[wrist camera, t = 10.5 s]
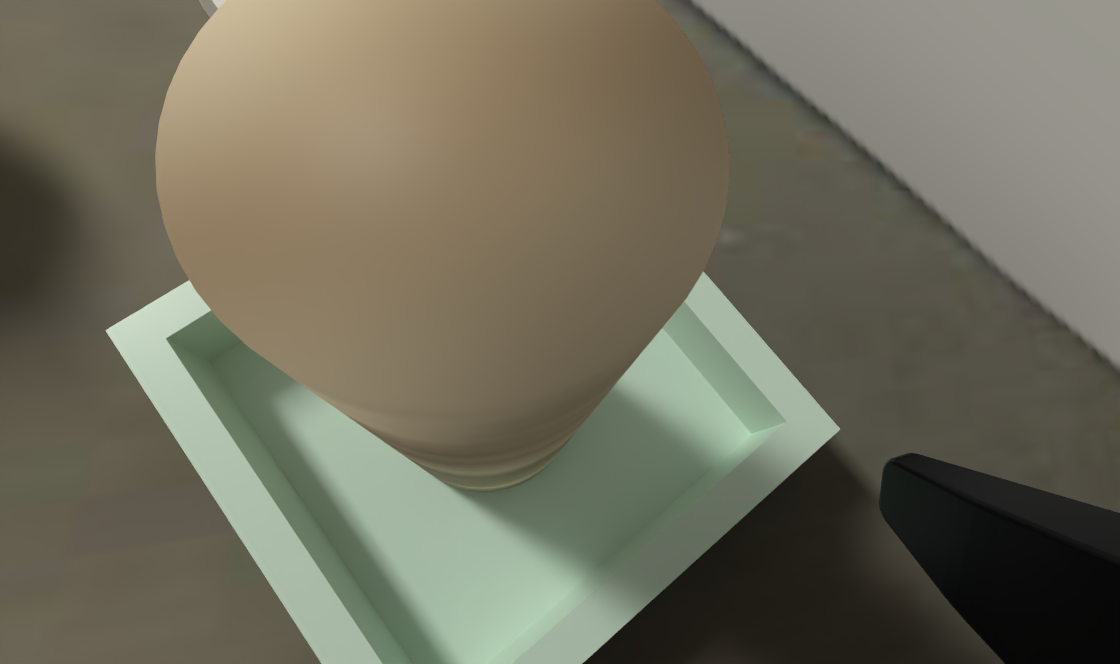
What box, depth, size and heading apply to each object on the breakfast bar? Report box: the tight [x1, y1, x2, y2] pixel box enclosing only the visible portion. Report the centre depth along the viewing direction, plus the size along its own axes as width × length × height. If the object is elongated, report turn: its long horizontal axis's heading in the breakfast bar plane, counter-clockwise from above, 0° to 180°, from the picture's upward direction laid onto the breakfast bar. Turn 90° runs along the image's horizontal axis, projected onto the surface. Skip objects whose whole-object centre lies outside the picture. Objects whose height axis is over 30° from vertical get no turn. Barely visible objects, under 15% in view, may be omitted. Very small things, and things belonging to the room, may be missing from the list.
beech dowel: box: [155, 0, 730, 492], centre depth 12 cm, size 5×5×13 cm
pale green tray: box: [106, 272, 840, 664], centre depth 17 cm, size 13×13×3 cm
